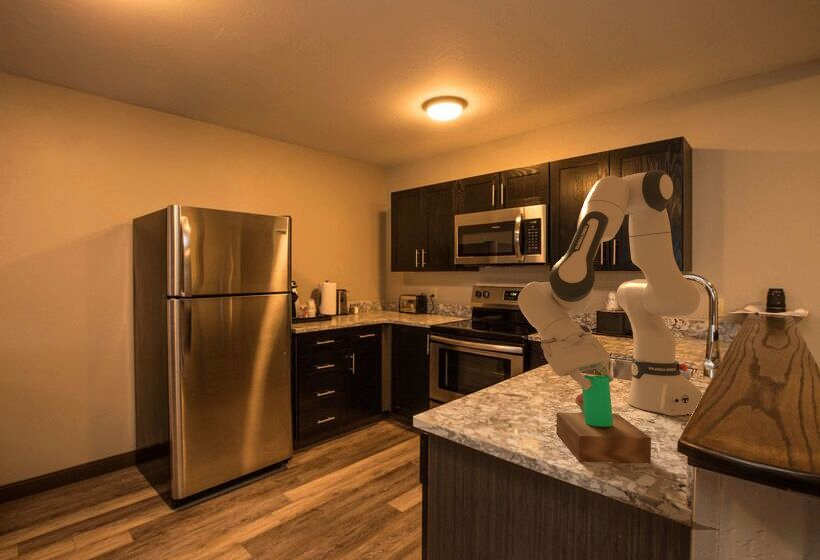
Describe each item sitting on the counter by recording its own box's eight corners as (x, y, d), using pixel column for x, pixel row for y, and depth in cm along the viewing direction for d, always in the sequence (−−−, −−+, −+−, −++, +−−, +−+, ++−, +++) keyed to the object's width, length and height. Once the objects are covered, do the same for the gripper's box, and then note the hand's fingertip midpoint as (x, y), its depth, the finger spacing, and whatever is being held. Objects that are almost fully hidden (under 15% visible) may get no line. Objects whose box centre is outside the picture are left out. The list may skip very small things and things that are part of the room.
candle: (617, 426, 91) (611, 371, 92) (588, 426, 92) (583, 372, 93) (609, 419, 97) (604, 367, 98) (582, 419, 98) (577, 368, 99)
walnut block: (617, 437, 102) (617, 414, 102) (650, 466, 87) (651, 437, 87) (556, 436, 103) (556, 412, 103) (578, 463, 88) (579, 435, 88)
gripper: (546, 332, 94) (585, 384, 87) (592, 326, 107) (630, 371, 99) (529, 348, 98) (566, 400, 90) (576, 341, 110) (612, 385, 103)
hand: (600, 384), depth 95 cm, fingers open, 8 cm apart
